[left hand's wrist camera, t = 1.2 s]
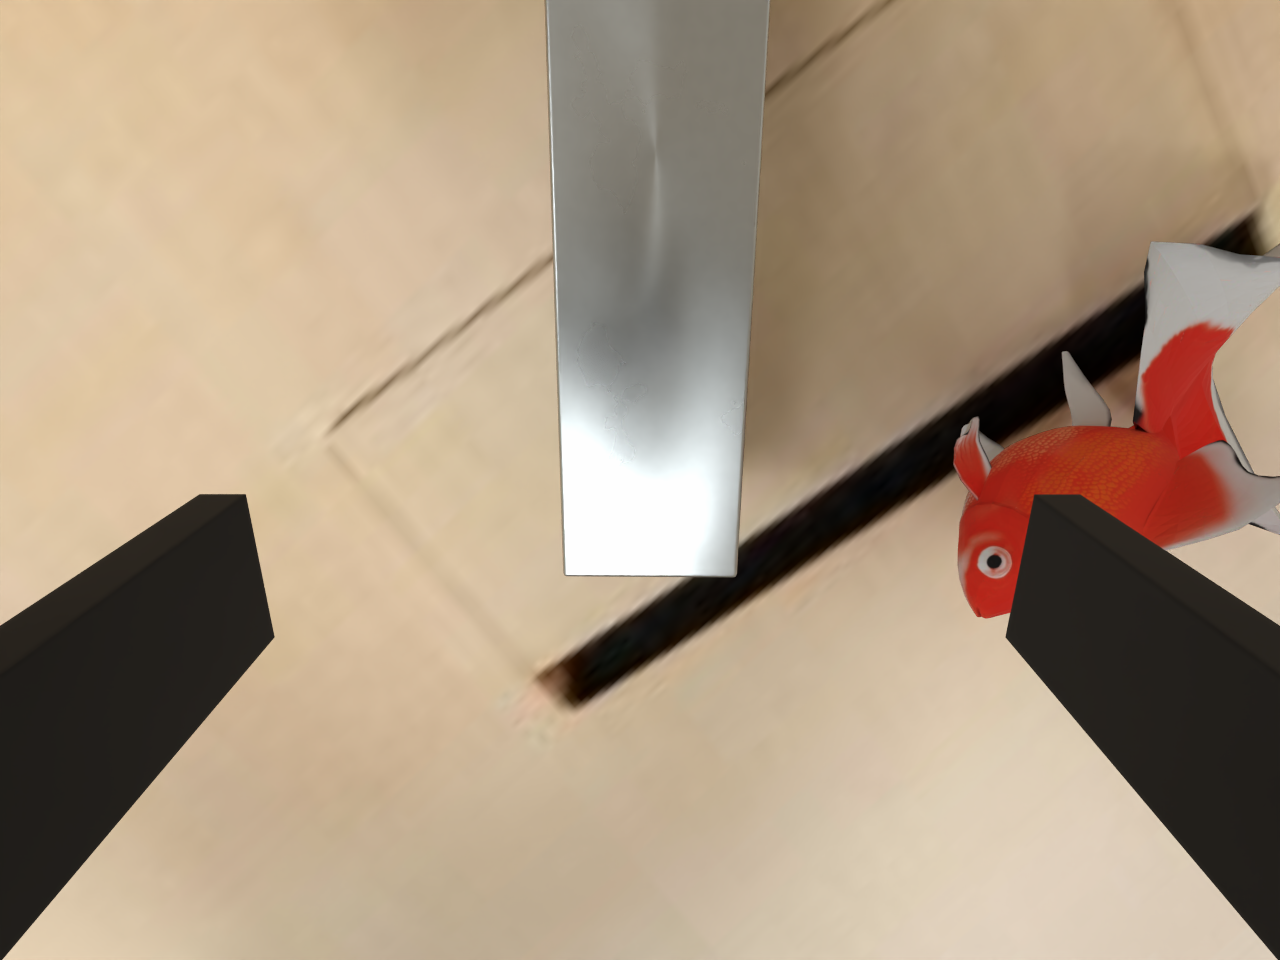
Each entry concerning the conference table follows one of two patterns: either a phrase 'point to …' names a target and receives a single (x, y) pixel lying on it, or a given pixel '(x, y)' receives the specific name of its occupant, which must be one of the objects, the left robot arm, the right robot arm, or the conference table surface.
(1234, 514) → the fish
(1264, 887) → the left robot arm
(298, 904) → the conference table surface
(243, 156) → the conference table surface
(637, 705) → the conference table surface
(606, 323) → the bar
